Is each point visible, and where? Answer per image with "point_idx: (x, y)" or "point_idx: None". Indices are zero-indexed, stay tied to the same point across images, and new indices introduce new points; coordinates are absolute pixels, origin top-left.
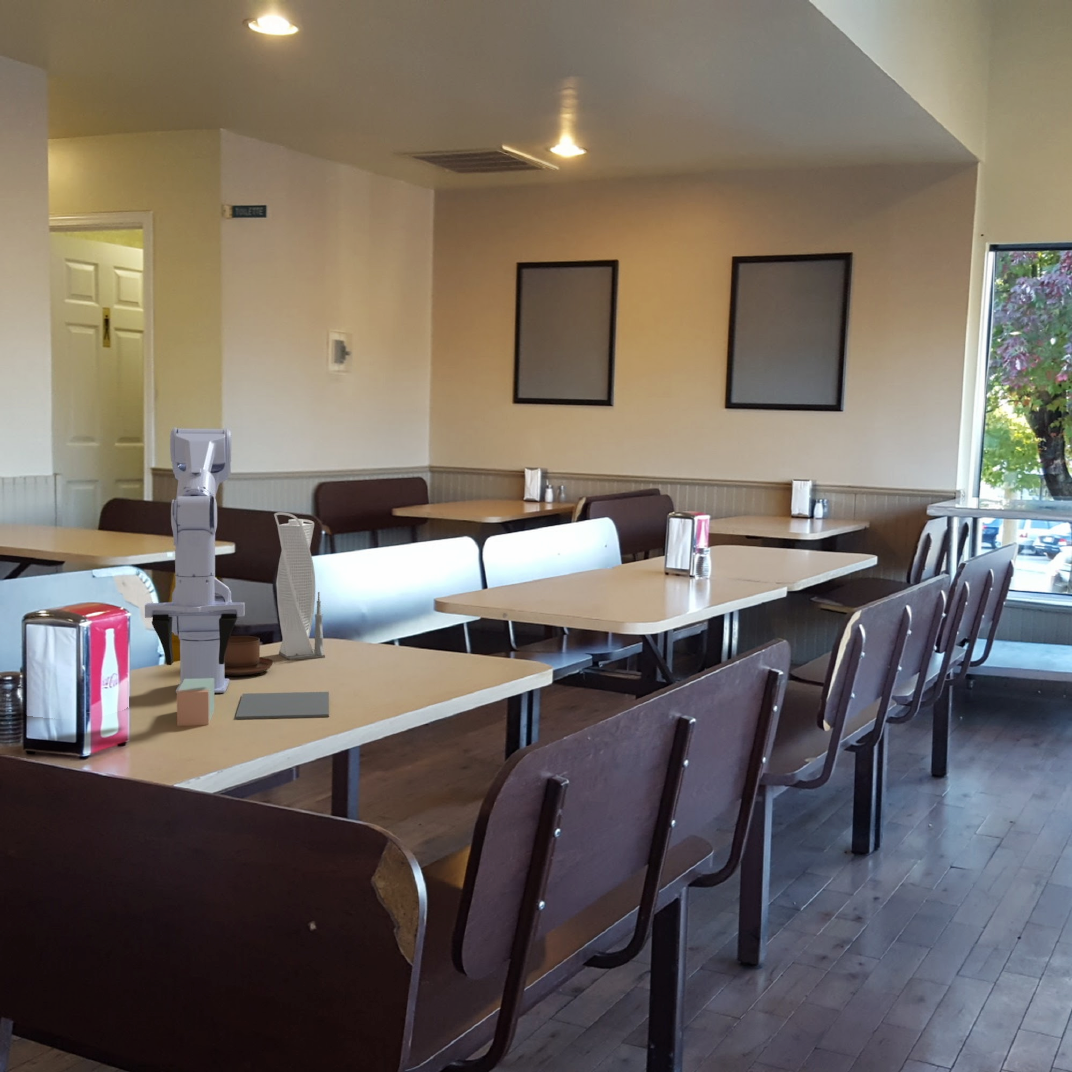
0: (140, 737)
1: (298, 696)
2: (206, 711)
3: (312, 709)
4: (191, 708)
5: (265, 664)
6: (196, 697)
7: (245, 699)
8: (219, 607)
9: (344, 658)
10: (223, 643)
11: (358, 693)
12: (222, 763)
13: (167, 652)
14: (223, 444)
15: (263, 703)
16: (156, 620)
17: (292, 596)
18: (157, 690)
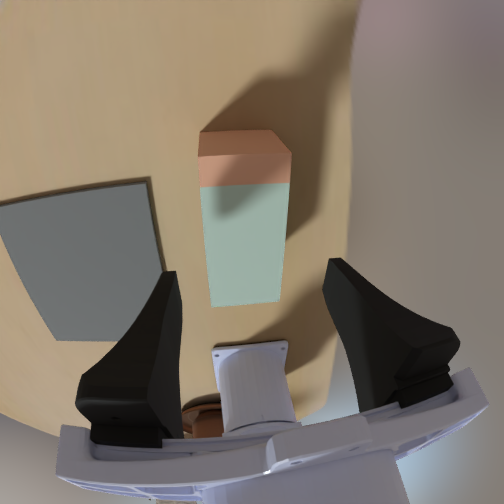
0: (341, 40)
1: (83, 321)
2: (203, 139)
3: (24, 241)
4: (243, 140)
5: (188, 425)
6: (232, 149)
7: None
8: (155, 474)
9: None
10: (148, 318)
11: (25, 336)
12: None
13: (356, 278)
14: None
15: (121, 284)
16: (436, 368)
17: None
18: (312, 353)
